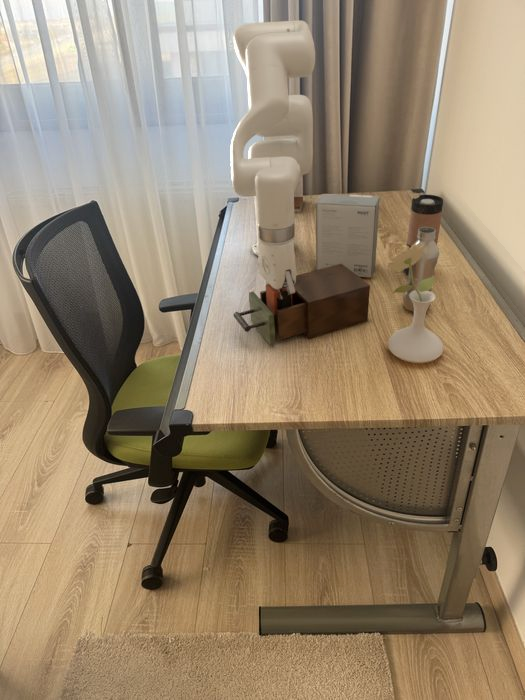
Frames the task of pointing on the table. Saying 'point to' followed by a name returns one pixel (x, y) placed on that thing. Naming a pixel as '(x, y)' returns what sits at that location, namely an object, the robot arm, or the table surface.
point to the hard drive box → (347, 232)
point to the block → (273, 298)
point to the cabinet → (332, 299)
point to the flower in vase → (415, 314)
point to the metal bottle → (422, 263)
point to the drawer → (274, 318)
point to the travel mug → (424, 217)
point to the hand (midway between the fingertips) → (279, 306)
